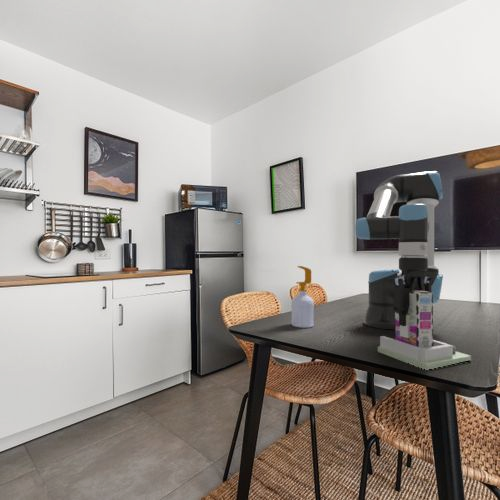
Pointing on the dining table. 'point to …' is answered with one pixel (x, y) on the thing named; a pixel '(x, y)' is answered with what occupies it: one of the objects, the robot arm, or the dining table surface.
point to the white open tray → (422, 353)
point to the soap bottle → (303, 304)
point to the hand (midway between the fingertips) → (412, 335)
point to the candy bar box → (418, 320)
